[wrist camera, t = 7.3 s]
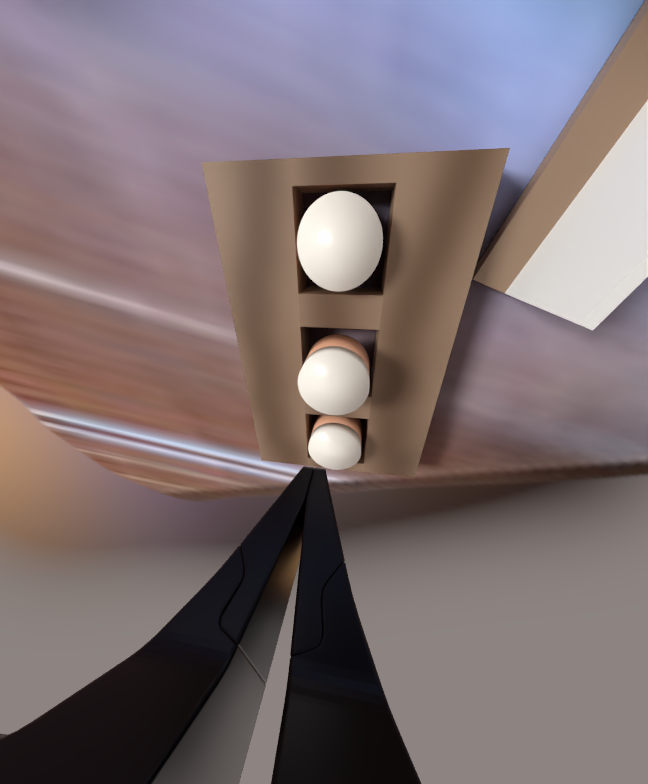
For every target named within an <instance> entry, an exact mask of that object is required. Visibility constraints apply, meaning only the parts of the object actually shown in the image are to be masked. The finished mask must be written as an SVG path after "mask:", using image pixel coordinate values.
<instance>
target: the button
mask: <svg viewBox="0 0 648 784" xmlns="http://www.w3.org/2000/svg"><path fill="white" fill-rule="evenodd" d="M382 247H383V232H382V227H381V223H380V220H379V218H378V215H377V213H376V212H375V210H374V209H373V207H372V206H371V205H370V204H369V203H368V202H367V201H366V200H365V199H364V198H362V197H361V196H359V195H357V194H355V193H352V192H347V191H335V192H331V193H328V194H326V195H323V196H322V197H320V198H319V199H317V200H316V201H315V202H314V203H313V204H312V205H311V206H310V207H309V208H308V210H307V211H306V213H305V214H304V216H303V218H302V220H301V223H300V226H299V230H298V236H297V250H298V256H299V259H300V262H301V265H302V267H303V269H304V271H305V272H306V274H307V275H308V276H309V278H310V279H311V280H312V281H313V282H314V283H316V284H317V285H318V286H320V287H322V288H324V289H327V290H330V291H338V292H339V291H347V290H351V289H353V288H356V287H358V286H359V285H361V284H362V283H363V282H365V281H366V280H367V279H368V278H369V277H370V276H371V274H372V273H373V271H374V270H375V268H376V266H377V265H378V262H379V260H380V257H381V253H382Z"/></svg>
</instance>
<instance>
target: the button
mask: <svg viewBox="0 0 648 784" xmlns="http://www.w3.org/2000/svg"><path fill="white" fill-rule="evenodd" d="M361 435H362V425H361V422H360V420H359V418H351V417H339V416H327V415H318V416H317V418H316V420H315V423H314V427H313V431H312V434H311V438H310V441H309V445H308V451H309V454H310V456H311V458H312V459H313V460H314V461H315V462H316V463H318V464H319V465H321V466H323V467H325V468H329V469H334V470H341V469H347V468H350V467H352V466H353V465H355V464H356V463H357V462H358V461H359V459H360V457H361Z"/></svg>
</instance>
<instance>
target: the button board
mask: <svg viewBox="0 0 648 784" xmlns="http://www.w3.org/2000/svg"><path fill="white" fill-rule="evenodd" d="M509 149H510V148H500V149H479V150H458V151H437V152H416V153H395V154H374V155H353V156H332V157H311V158H290V159H269V160H248V161H227V162H206V163H202V167H203V172H204V177H205V182H206V187H207V192H208V197H209V202H210V207H211V212H212V217H213V222H214V226H215V231H216V236H217V241H218V246H219V251H220V256H221V261H222V266H223V271H224V276H225V281H226V286H227V291H228V296H229V301H230V306H231V311H232V316H233V321H234V326H235V331H236V336H237V341H238V346H239V350H240V355H241V360H242V365H243V370H244V375H245V380H246V385H247V390H248V395H249V400H250V405H251V410H252V415H253V420H254V425H255V430H256V435H257V440H258V445H259V450H260V455H261V460H264V461H273V462H282V463H291V464H300V465H308V466H317V467H323V466H321V465H319V464H318V463H316V462H315V461H314V460H313V459H312V458H311V456H310V454H309V451H308V445H309V441H310V438H311V434H312V431H313V429H312V414H316V415H327V416H339V417H351V418H362V419H367V422H366V431H365V440H364V444H361V457H360V459H359V461H358V462H357V463H356V464H355V465H353V466H352V467H350V468H347V469H344V470H353V471H362V472H371V473H379V474H388V475H397V476H406V477H415V475H416V471H417V468H418V464H419V461H420V458H421V454H422V451H423V447H424V444H425V440H426V437H427V433H428V430H429V426H430V423H431V419H432V416H433V412H434V409H435V406H436V402H437V399H438V395H439V392H440V388H441V385H442V381H443V378H444V374H445V371H446V367H447V364H448V360H449V357H450V354H451V350H452V347H453V343H454V340H455V336H456V333H457V329H458V326H459V322H460V319H461V315H462V312H463V309H464V305H465V302H466V298H467V295H468V291H469V288H470V284H471V281H472V277H473V274H474V270H475V267H476V263H477V260H478V257H479V253H480V250H481V246H482V243H483V239H484V236H485V232H486V229H487V225H488V222H489V218H490V215H491V211H492V208H493V205H494V201H495V198H496V194H497V191H498V187H499V184H500V180H501V177H502V173H503V170H504V166H505V163H506V159H507V156H508V153H509ZM335 191H347V192H365V191H392V195H391V204H390V213H389V222H388V231H387V240H386V249H385V258H384V268H383V277H382V286H381V288H357V287H356V288H353V289H351V290H347V291H339V292H338V291H330V290H327V289H324V288H322V287H307V279H306V272H305V271H304V269H303V267H302V265H301V262H300V259H299V256H298V250H297V236H298V230H299V226H300V223H301V220H302V218H303V216H304V204H303V193H331V192H335ZM308 327H322V328H347V329H371V330H377V331H376V340H375V349H374V358H373V367H372V376H371V380H370V388H369V394H368V397H367V399H366V400H365V402H364V403H363V404H362V405H361V406H360V407H359V408H358V409H356V410H355V411H353V412H351V413H348V414H344V415H328V414H324V413H321V412H319V411H317V410H315V409H313V408H312V407H310V406H309V405H308V404H307V403H306V402H305V401H304V399H303V398H302V396H301V394H300V392H299V389H298V376H299V373H300V370H301V368H302V366H303V364H304V362H305V360H306V358H307V356H308V354H309V329H308Z"/></svg>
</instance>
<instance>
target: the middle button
mask: <svg viewBox="0 0 648 784" xmlns="http://www.w3.org/2000/svg"><path fill="white" fill-rule="evenodd" d="M369 388H370V379H369V358H368V354H367V352H366V350H365V348H364V347H363V346H362V345H361V344H360V343H359V342H358V341H357V340H355V339H354V338H352V337H349V336H346V335H340V334H334V335H329V336H326V337H323V338H322V339H320V340H318V341H317V342H316V343H315V344H314V345H313V347H312V348H311V350H310V352H309V354H308V356H307V358H306V360H305V362H304V364H303V366H302V368H301V370H300V373H299V376H298V389H299V392H300V394H301V396H302V398H303V399H304V401H305V402H306V403H307V404H308V405H309V406H310V407H312V408H313V409H315V410H317V411H319V412H321V413H324V414H328V415H344V414H348V413H351V412H353V411H355V410H356V409H358V408H359V407H360V406H361V405H362V404H363V403H364V402H365V400H366V399H367V397H368V394H369Z"/></svg>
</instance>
